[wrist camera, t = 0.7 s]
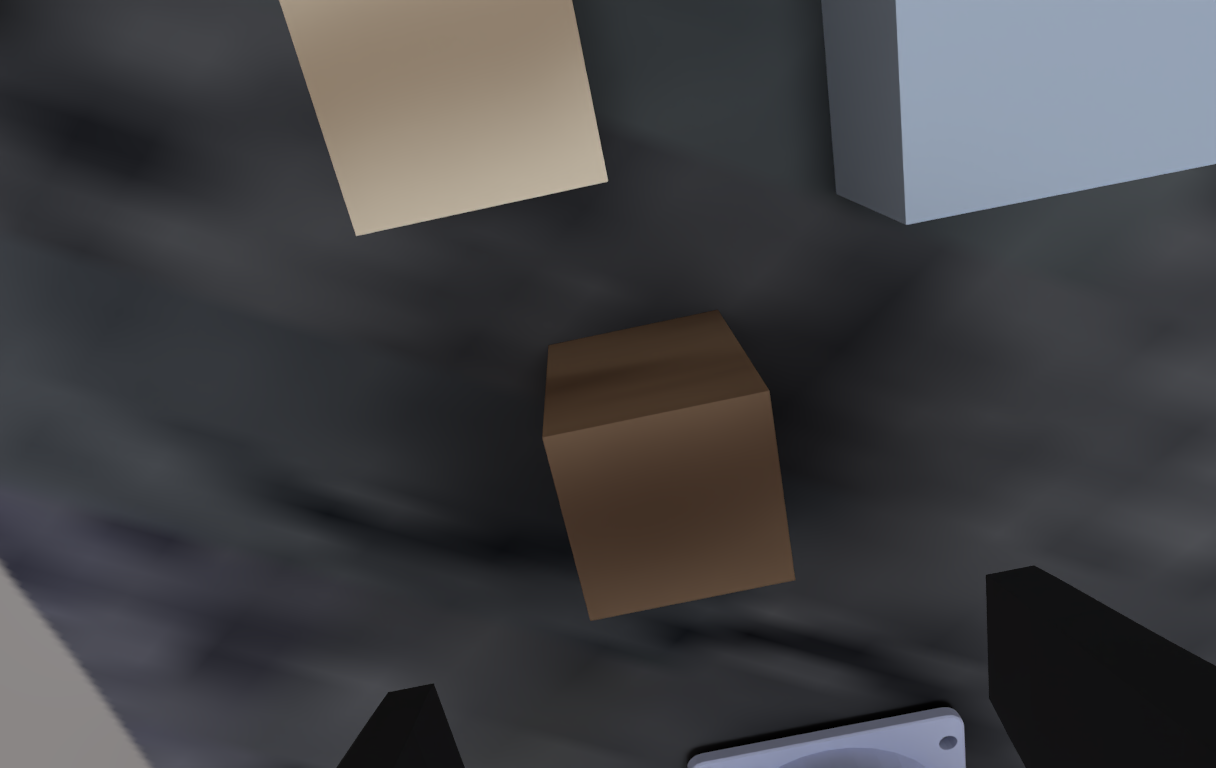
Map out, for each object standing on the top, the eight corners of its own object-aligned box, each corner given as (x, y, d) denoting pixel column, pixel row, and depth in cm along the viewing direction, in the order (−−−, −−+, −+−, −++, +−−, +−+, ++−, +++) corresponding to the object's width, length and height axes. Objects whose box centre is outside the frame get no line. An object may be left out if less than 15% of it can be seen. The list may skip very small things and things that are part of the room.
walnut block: (741, 459, 20) (794, 579, 15) (584, 492, 20) (590, 620, 15) (717, 309, 18) (769, 390, 13) (548, 344, 18) (542, 437, 14)
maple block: (597, 152, 17) (608, 181, 12) (415, 191, 17) (356, 235, 12) (554, -59, 15) (548, -116, 11) (355, -13, 15) (263, -50, 11)
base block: (1103, 139, 17) (1250, 156, 14) (833, 192, 17) (906, 224, 14) (1117, -181, 15) (1298, -266, 11) (809, -118, 15) (887, -179, 11)
